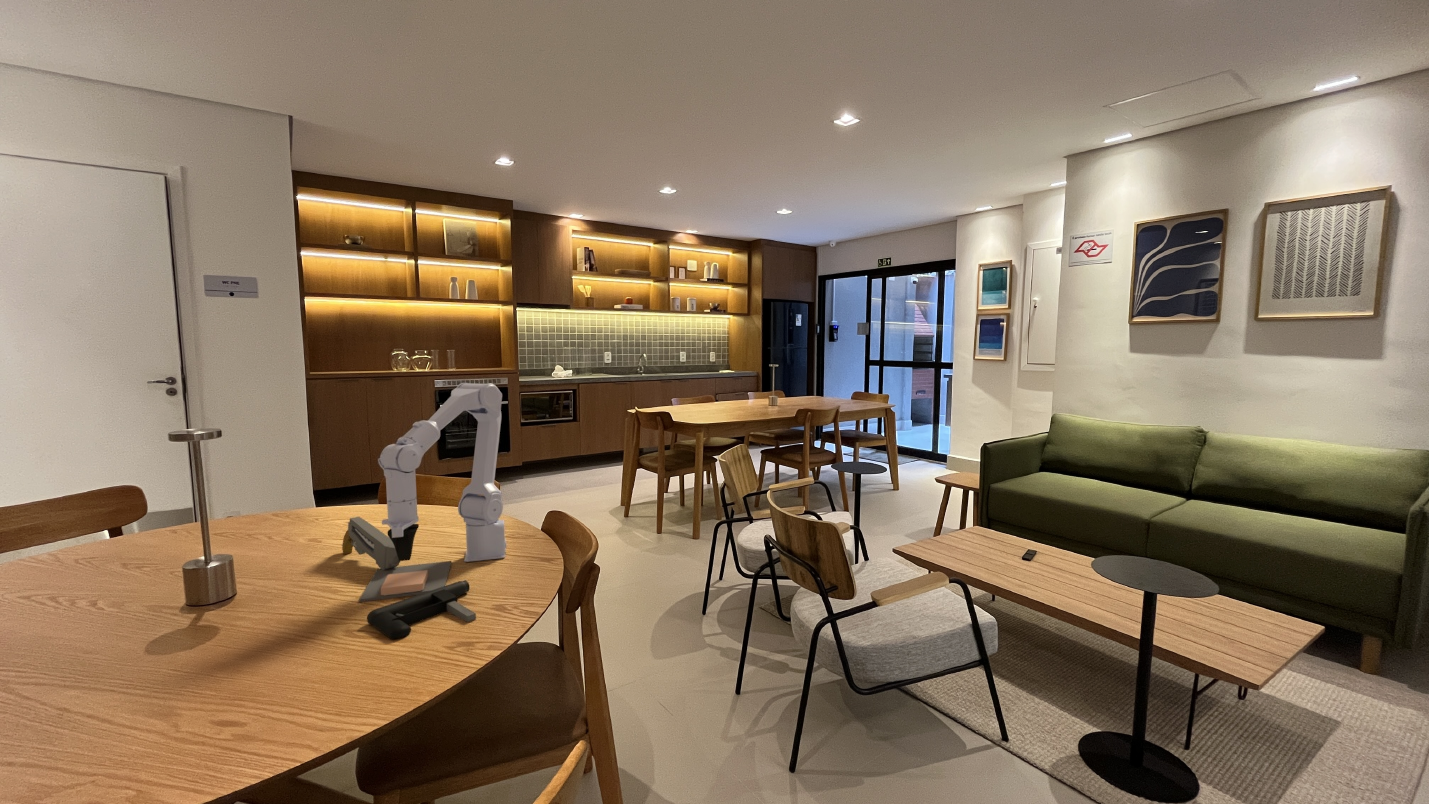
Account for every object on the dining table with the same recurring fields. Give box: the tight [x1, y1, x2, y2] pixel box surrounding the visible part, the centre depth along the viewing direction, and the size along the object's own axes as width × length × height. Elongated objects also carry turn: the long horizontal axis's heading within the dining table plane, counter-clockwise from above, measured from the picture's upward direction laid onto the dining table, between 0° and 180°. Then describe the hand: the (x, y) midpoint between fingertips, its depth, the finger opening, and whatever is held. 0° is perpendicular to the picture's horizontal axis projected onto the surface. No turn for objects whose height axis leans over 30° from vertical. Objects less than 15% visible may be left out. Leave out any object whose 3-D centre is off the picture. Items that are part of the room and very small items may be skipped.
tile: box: [381, 570, 428, 596], centre depth 128 cm, size 8×2×8 cm
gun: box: [341, 516, 401, 570], centre depth 144 cm, size 3×25×15 cm, turn 56°
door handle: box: [366, 579, 477, 641], centre depth 116 cm, size 3×20×16 cm
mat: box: [358, 560, 452, 603], centre depth 133 cm, size 16×18×1 cm
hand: (404, 559), depth 128 cm, fingers closed
